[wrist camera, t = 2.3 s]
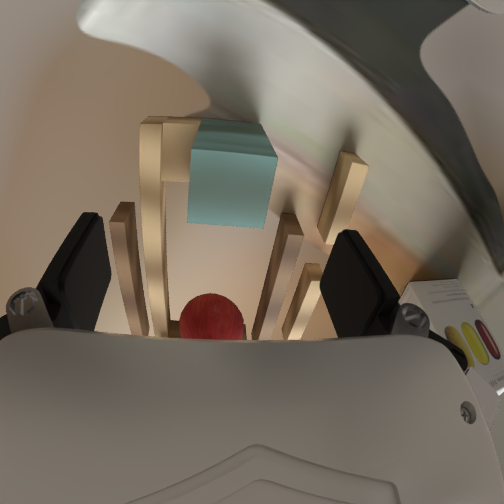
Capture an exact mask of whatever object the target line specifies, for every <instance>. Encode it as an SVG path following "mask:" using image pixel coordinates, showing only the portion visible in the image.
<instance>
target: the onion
mask: <svg viewBox="0 0 504 504" xmlns="http://www.w3.org/2000/svg"><path fill="white" fill-rule="evenodd" d="M243 321H244V320H243V317H242V314H241V312H240V311H239V309H238V308H237V306H236V305H235V304H234V303H233V302H232V301H230V300H229V299H227V298H226V297H224V296H221V295H218V294H211V293H210V294H203V295H200V296H197V297H195V298H194V299H192V300H191V301H189V302H188V303H187V305H186V306H185V308H184V309H183V311H182V313H181V317H180V320H179V323H180V334H181V337H182V338H185V339H209V340H241V339H242V336H243Z"/></svg>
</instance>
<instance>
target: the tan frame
mask: <svg viewBox="0 0 504 504" xmlns="http://www.w3.org/2000/svg"><path fill="white" fill-rule="evenodd" d="M139 136H140V137H139V168H140V169H139V170H140V171H139V173H140V203H141V221H142V235H143V246H144V257H145V266H146V267H145V268H146V277H147V285H148V292H149V300H150V307H151V314H152V321H153V327H154V333H155V337H167V338H182V337H181V334H180V323H179V321H174V320H170V309H169V296H168V295H169V294H168V278H167V256H166V181H177V182H189V195H188V217H187V223H196V224H210V225H223V226H236V227H249V228H261V229H263V228H264V223H265V218H266V214H267V209H268V204H269V200H270V195H271V190H272V185H273V180H274V175H275V171H276V166H277V161H278V157H277V155H276V153H275V151H274V149H273V147H272V145H271V143H270V141H269V139H268V137H267V135H266V133H265V131H264V129H263V127H262V126H261V124H254V123H246V122H238V121H228V120H218V119H205V118H190V117H166V116H148V117H147V118H146V119H145V120H144V121H143V122H141V123H140V135H139ZM241 340H247V337H246V326H245V324H243V336H242V339H241Z"/></svg>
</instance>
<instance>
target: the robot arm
mask: <svg viewBox="0 0 504 504" xmlns="http://www.w3.org/2000/svg"><path fill="white" fill-rule="evenodd" d="M466 1H467V2H468V3H470V4H471V5H473V6H474V7H476V8H477V9H479V10H481V11H484V12H486V13H491V14H504V0H466ZM110 280H111V267H110V262H109V256H108V251H107V245H106V239H105V231H104V224H103V218H102V217H100V216H99V215H98V213H94V212H84V213H82V215H81V216H80V218H79V219H78V220H77V222H76V223H75V225H74V226H73V228H72V229H71V231H70V232H69V234H68V235H67V237H66V238H65V240H64V242H63V243H62V245H61V246H60V248H59V250H58V251H57V253H56V254H55V256H54V258H53V259H52V261H51V263H50V264H49V266H48V268H47V269H46V271H45V273H44V275H43V277H42V278H41V280H40V282H39V284H38V286H37V287H36V289H35V288H31V287H27V288H22V289H19V290H18V291H16V292H15V293H14V294H13V295H12V296H10V298H9V300H8V301H7V304H6V313H7V314H6V315H4V316H2V317H1V318H0V504H504V482H503V478H502V473H501V469H500V465H499V461H498V458H497V454H496V451H495V447H494V444H493V441H492V437H491V435H490V432H489V431H490V428H491V426H492V424H493V422H494V419H495V417H496V414H497V412H498V409H499V407H500V398H499V396H498V394H497V392H496V391H495V390H494V389H493V388H492V387H491V386H490V385H489V384H488V383H487V381H486V380H485V379H484V378H483V377H482V376H481V375H480V374H479V373H478V372H477V371H476V370H475V369H474V368H473V367H472V366H471V367H470V368H468V360H467V357H466V355H465V353H464V351H463V350H462V349H461V348H459V347H458V346H456V345H454V344H453V343H451V342H449V341H448V340H446V339H445V338H443V337H441V336H440V335H438V334H436V333H435V332H433V331H431V330H430V329H429V327H430V320H429V318H428V316H427V314H426V313H425V311H423V310H422V309H421V308H420V307H418V306H417V305H415V304H412V303H403V304H402V305H400V304H399V302H398V301H399V299H400V298H401V297H400V295H399V294H398V292H397V290H396V289H395V287H394V286H393V284H392V282H391V281H390V279H389V278H388V276H387V274H386V273H385V271H384V270H383V268H382V267H381V265H380V263H379V262H378V260H377V259H376V257H375V256H374V254H373V253H372V251H371V250H370V248H369V247H368V245H367V244H366V243H365V241H364V240H363V238H362V237H361V235H360V234H359V232H358V231H356V230H348V229H344V230H342V232H339V233H338V235H337V237H336V240H335V243H334V245H333V248H332V251H331V254H330V257H329V259H328V262H327V264H326V267H325V270H324V272H323V275H322V277H321V280H320V284H319V287H320V291H321V293H322V296H323V299H324V301H325V304H326V306H327V309H328V312H329V314H330V317H331V320H332V322H333V325H334V328H335V330H336V333H337V336H338V338H327V339H304V340H303V339H302V340H209V339H185V338H167V337H151V336H139V335H128V334H117V333H107V332H97V331H94V329H95V325H96V322H97V319H98V316H99V312H100V309H101V306H102V303H103V300H104V297H105V294H106V291H107V288H108V286H109V283H110Z"/></svg>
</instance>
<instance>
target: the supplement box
mask: <svg viewBox="0 0 504 504" xmlns="http://www.w3.org/2000/svg"><path fill="white" fill-rule="evenodd" d="M398 302H399V304H400V305H402V304H403V303H412V304H415V305H417V306H418V307H420V308H421V309H422V310H423V311H425V313H426V314H427V316H428V318H429V320H430V327H429V329H430V330H431V331H433V332H435V333H436V334H438V335H440V336H441V337H443V338H445V339H446V340H448V341H449V342H451V343H453V344H454V345H456V346H458V347H459V348H461V349H462V350H463V351H464V353H465V355H466V357H467V360H468V368H470V367H471V366H472V367H473V368H474V369H475V370H476V371H477V372H478V373H479V374H480V375H481V376H482V377H483V378H484V379H485V380H486V381H487V383H488V384H489V385H490V386H491V387H492V388H493V389H494V390H495V391H496V392H497V394H498V396H499V395H500V394H501V393H503V392H504V354H503V353H502V350H501V349H500V347H499V345H498V343H497V341H496V339H495V338H494V336H493V334H492V332H491V331H490V329H489V327H488V325H487V324H486V322H485V321H484V319H483V317H482V315H481V314H480V312H479V311H478V309H477V307H476V306H475V304H474V303H473V301H472V300H471V298H470V296H469V295H468V293H467V292H466V290H465V289H464V288H463V286H462V285H461V283H460V282H459V280H458V279H448V280H433V281H417V282H409V283H408V285H407V287H406V289H405V290H404V292H403V294H402V296H401V298H400V300H399V301H398Z"/></svg>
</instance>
